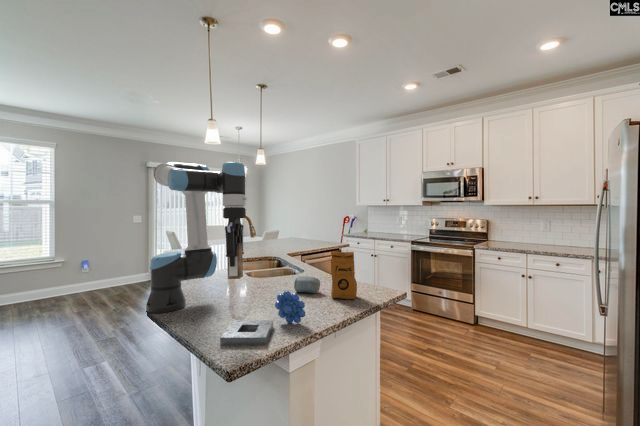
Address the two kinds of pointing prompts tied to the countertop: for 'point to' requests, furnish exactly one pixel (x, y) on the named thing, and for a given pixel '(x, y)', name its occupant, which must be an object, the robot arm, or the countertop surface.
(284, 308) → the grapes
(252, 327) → the gray square hole plate
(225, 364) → the countertop surface
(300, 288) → the spool
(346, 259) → the coffee package
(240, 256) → the wooden block
